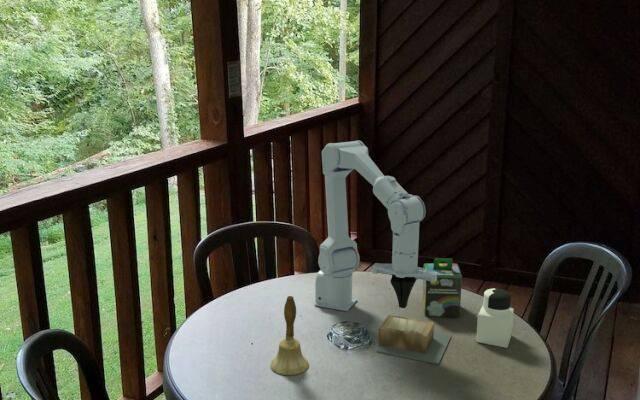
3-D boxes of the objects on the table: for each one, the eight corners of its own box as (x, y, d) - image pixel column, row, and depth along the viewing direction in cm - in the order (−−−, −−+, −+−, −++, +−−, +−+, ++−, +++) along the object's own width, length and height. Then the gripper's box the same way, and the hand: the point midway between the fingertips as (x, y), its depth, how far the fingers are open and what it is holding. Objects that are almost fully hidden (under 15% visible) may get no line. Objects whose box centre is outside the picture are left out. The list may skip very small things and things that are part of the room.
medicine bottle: (511, 335, 141) (515, 288, 138) (507, 348, 134) (511, 300, 131) (481, 329, 144) (484, 283, 141) (475, 342, 137) (479, 294, 134)
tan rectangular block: (378, 328, 135) (426, 337, 130) (388, 314, 142) (434, 322, 138) (378, 344, 136) (425, 353, 131) (388, 329, 143) (433, 338, 139)
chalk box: (456, 303, 159) (459, 251, 155) (460, 318, 150) (464, 263, 146) (421, 302, 159) (423, 250, 156) (423, 316, 151) (426, 262, 147)
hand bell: (301, 353, 132) (301, 287, 128) (314, 371, 125) (314, 301, 121) (266, 359, 129) (264, 292, 126) (276, 378, 122) (275, 307, 118)
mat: (376, 352, 133) (376, 350, 133) (394, 326, 145) (394, 325, 145) (438, 364, 127) (438, 363, 127) (451, 336, 140) (451, 335, 140)
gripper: (368, 251, 131) (367, 307, 135) (433, 260, 126) (430, 318, 129) (378, 242, 138) (377, 296, 141) (440, 250, 132) (437, 306, 135)
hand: (403, 306), depth 135 cm, fingers closed
